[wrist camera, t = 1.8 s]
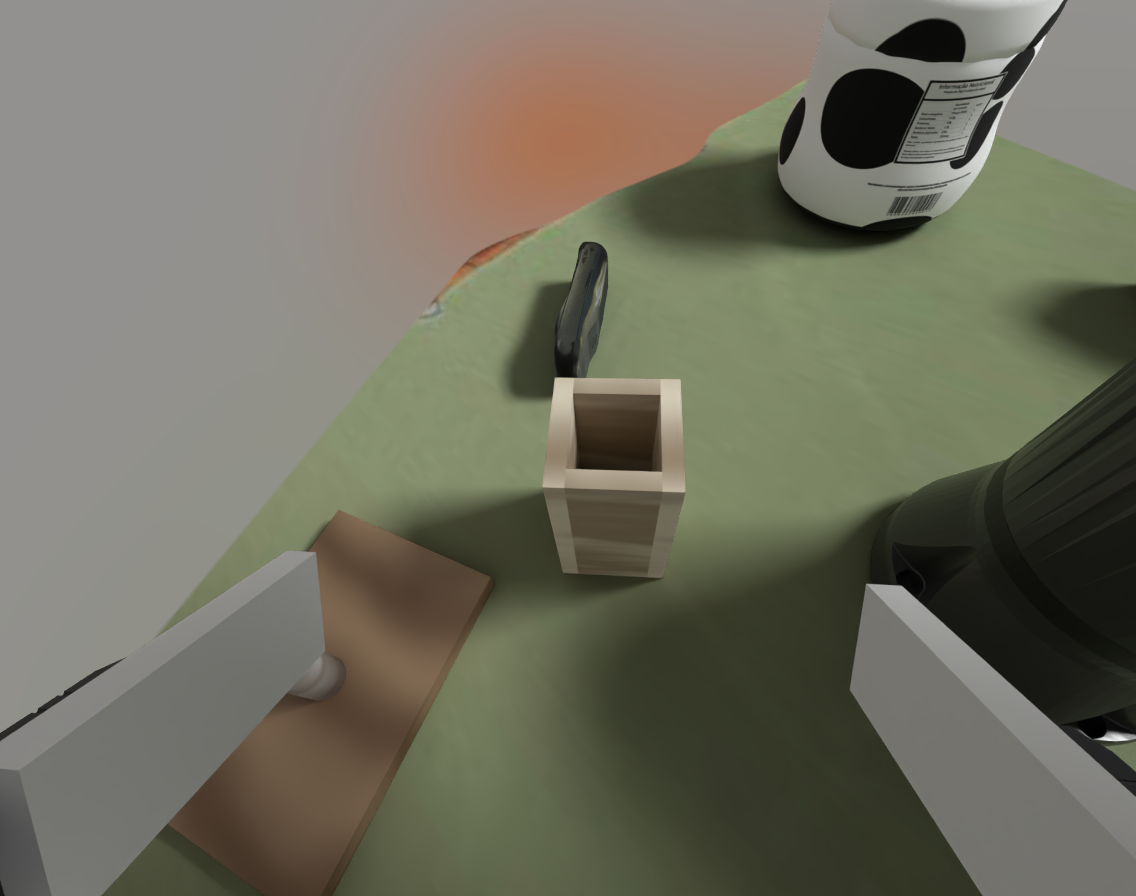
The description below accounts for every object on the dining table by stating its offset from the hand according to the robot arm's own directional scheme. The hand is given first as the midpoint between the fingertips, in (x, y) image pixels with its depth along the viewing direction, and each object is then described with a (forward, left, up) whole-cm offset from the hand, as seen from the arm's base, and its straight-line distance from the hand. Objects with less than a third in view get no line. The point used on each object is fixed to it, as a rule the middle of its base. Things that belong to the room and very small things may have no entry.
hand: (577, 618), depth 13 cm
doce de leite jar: (-51, -17, -20) cm, 58 cm away
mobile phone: (-18, -22, -21) cm, 35 cm away
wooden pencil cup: (-8, -7, -20) cm, 23 cm away
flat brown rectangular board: (+11, -11, -20) cm, 25 cm away
